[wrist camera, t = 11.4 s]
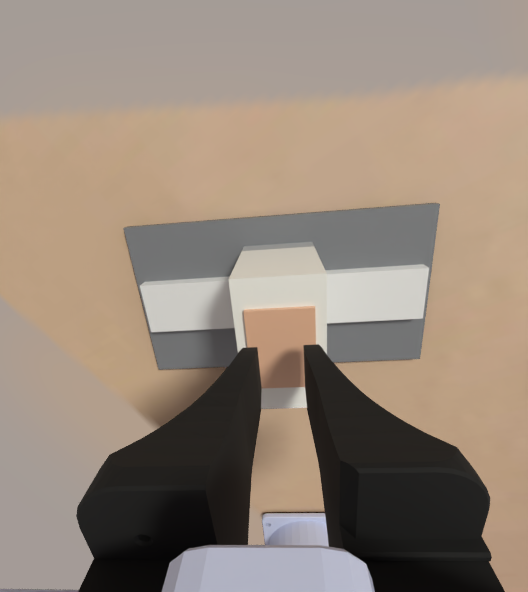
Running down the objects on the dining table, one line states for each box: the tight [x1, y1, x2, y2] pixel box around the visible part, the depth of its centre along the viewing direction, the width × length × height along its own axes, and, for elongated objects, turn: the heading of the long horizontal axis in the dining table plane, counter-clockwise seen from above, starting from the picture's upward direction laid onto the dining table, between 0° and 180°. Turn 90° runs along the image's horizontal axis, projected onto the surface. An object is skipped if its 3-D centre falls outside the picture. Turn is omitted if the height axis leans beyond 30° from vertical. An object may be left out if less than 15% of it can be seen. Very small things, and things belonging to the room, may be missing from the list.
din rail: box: [123, 203, 440, 369], centre depth 19 cm, size 10×18×1 cm, turn 95°
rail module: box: [228, 242, 327, 409], centre depth 16 cm, size 7×4×6 cm, turn 5°
